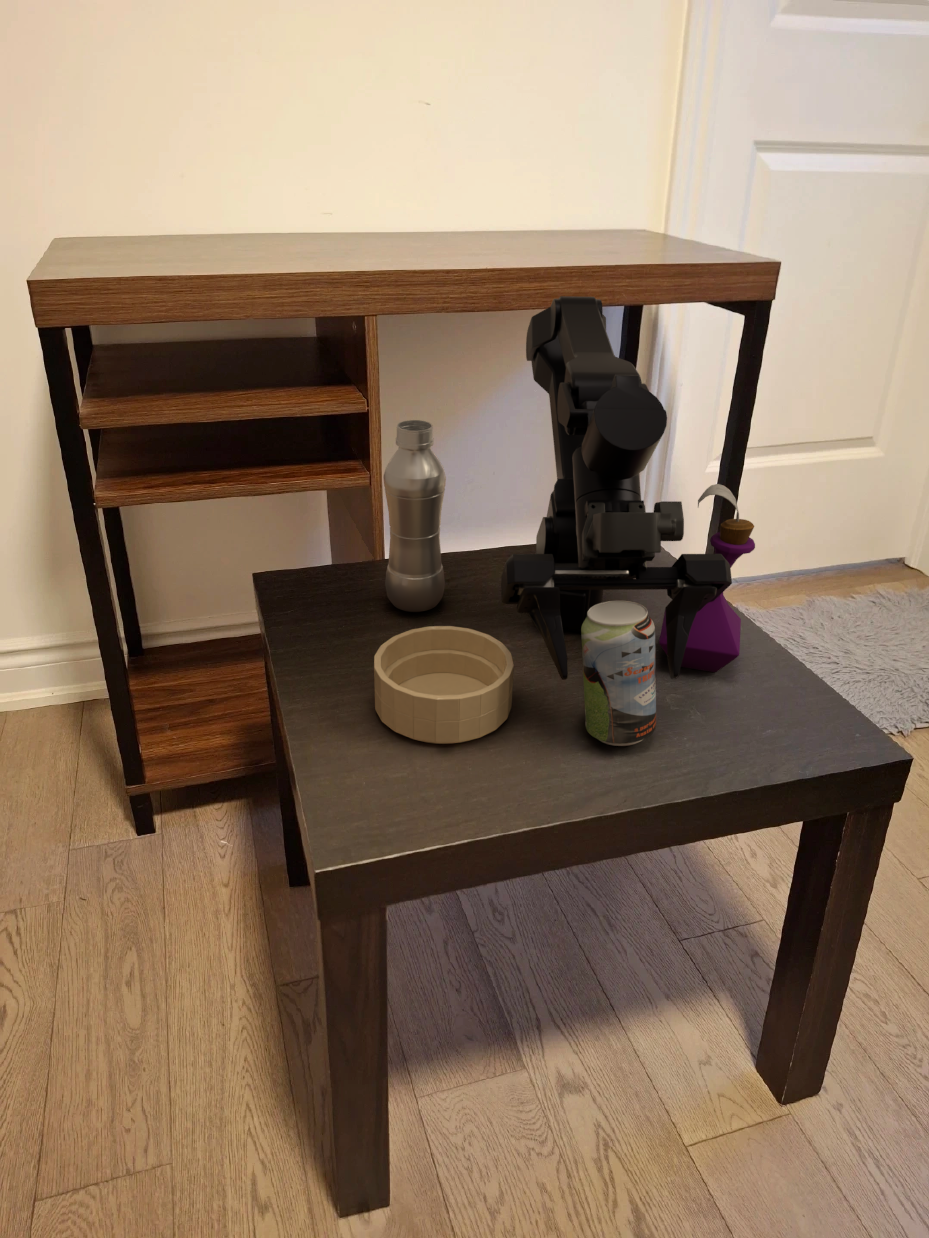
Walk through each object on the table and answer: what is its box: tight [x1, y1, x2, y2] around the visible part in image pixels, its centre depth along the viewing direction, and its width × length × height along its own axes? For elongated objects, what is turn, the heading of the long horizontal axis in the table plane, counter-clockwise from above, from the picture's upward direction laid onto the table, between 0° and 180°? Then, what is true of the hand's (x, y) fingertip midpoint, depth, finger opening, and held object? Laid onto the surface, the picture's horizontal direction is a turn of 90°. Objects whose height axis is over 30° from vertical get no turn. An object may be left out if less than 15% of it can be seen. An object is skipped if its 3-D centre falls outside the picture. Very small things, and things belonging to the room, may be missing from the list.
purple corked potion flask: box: [658, 483, 756, 673], centre depth 89 cm, size 8×8×18 cm
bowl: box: [373, 625, 515, 745], centre depth 84 cm, size 12×12×5 cm
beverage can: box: [580, 600, 657, 747], centre depth 79 cm, size 6×7×12 cm
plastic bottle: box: [383, 419, 447, 613], centre depth 97 cm, size 6×7×20 cm
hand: (619, 678), depth 78 cm, fingers open, 9 cm apart
